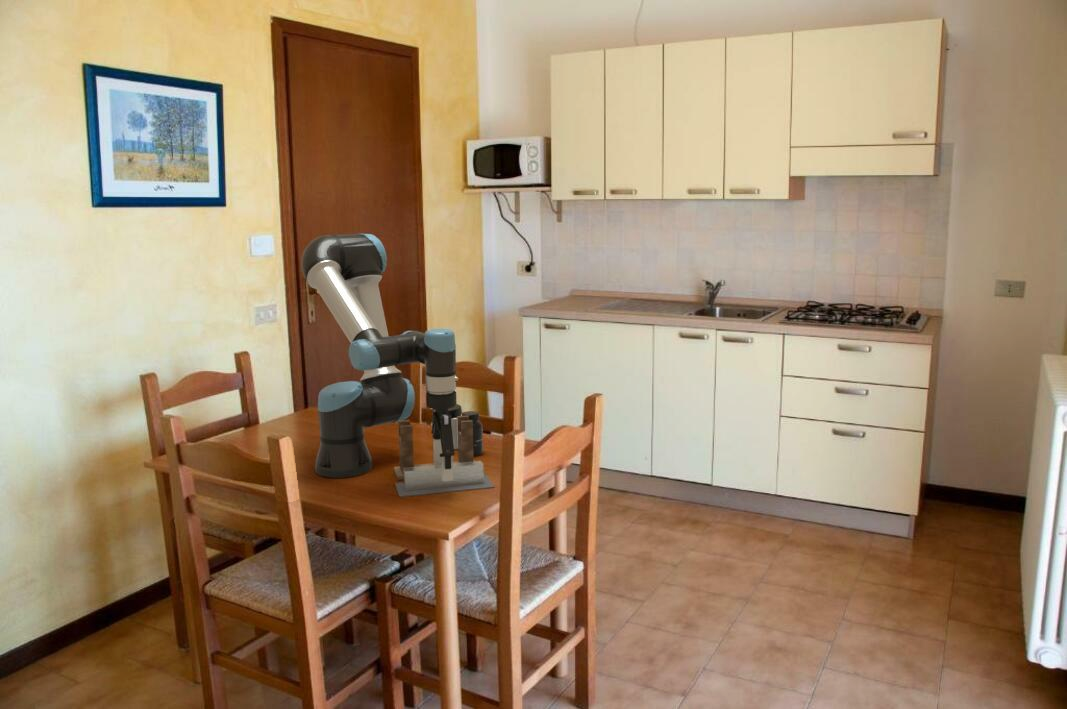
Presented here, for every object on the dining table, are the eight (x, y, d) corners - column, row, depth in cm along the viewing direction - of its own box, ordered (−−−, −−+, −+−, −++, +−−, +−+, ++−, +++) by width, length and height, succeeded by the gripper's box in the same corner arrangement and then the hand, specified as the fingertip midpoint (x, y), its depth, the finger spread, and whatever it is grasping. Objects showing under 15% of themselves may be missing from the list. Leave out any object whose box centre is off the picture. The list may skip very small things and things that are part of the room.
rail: (405, 490, 212) (405, 471, 211) (404, 486, 215) (403, 467, 214) (483, 482, 218) (483, 464, 217) (481, 479, 220) (480, 460, 219)
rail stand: (397, 479, 221) (395, 428, 219) (394, 470, 229) (392, 420, 226) (479, 472, 227) (478, 421, 224) (473, 463, 234) (472, 414, 232)
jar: (468, 446, 250) (467, 407, 247) (445, 452, 245) (444, 412, 242) (451, 440, 256) (450, 401, 254) (428, 445, 251) (427, 406, 249)
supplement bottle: (483, 456, 240) (482, 415, 238) (458, 457, 240) (457, 416, 237) (483, 449, 247) (482, 409, 244) (459, 450, 246) (458, 410, 244)
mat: (399, 497, 209) (399, 496, 209) (394, 484, 218) (394, 483, 218) (494, 487, 215) (494, 486, 215) (485, 475, 224) (485, 474, 224)
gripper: (465, 401, 201) (466, 486, 205) (447, 379, 225) (449, 455, 229) (433, 404, 199) (436, 489, 203) (419, 380, 223) (421, 457, 227)
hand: (443, 471), depth 216 cm, fingers open, 13 cm apart
